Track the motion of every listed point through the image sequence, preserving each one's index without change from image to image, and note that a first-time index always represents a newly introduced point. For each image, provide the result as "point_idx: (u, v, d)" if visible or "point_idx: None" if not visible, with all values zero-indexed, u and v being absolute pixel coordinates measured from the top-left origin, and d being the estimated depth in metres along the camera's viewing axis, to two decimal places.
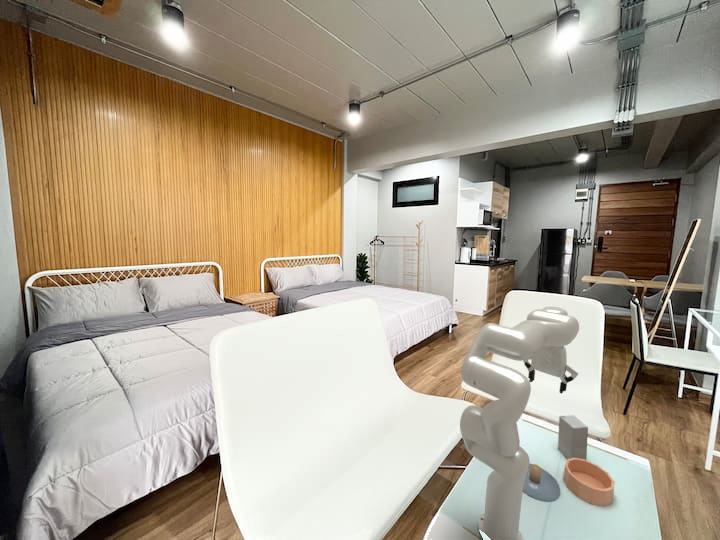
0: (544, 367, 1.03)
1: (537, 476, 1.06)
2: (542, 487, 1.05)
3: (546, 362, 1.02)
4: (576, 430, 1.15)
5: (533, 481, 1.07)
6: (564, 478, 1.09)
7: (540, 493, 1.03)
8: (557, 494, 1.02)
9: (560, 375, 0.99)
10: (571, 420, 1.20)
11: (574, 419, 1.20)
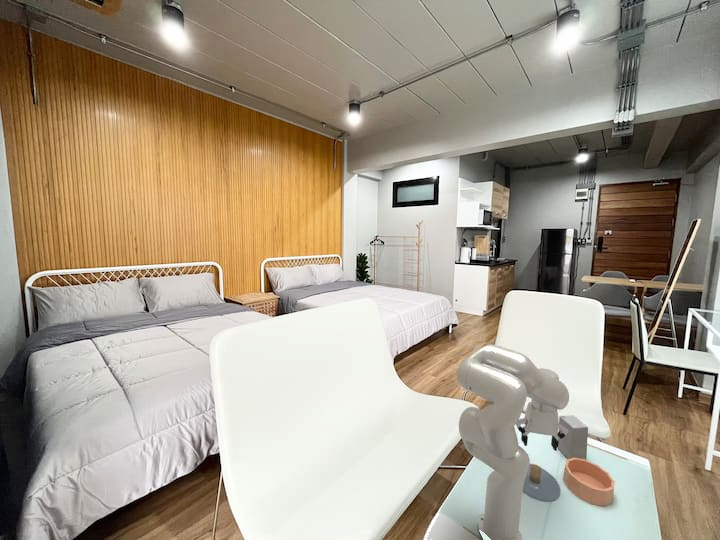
0: None
1: (537, 476, 1.06)
2: (542, 487, 1.05)
3: None
4: (576, 430, 1.15)
5: (533, 481, 1.07)
6: (564, 478, 1.09)
7: (540, 493, 1.03)
8: (557, 494, 1.02)
9: None
10: (571, 420, 1.20)
11: (574, 419, 1.20)
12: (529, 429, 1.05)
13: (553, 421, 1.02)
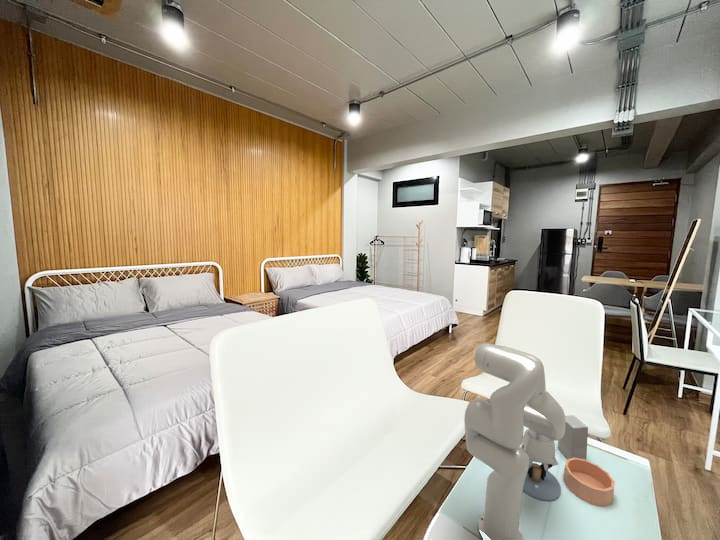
0: None
1: (537, 475, 1.06)
2: (543, 486, 1.05)
3: None
4: (576, 430, 1.15)
5: (534, 480, 1.07)
6: (564, 478, 1.09)
7: (541, 492, 1.03)
8: (558, 493, 1.03)
9: None
10: (571, 420, 1.20)
11: (574, 419, 1.20)
12: None
13: (550, 450, 1.03)
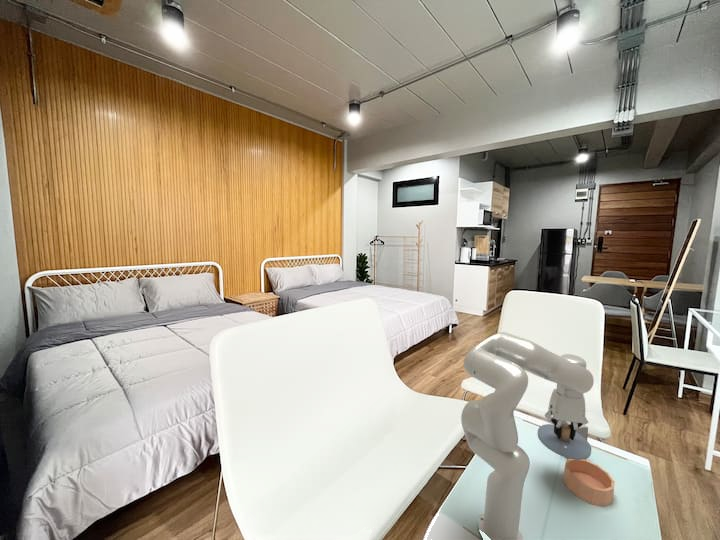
0: None
1: (566, 434, 1.03)
2: (572, 445, 1.02)
3: None
4: (576, 430, 1.15)
5: (562, 440, 1.04)
6: (564, 478, 1.09)
7: (571, 451, 0.99)
8: (589, 451, 0.99)
9: None
10: None
11: None
12: (555, 416, 1.02)
13: (580, 407, 1.00)
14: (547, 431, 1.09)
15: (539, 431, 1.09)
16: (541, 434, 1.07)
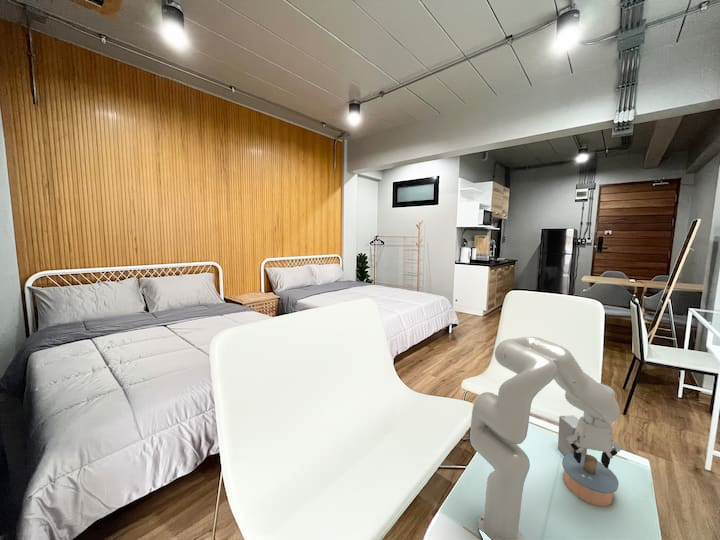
0: None
1: (593, 466, 1.03)
2: (599, 478, 1.02)
3: None
4: None
5: (588, 472, 1.04)
6: (564, 478, 1.09)
7: (598, 484, 0.99)
8: (616, 485, 0.99)
9: None
10: (571, 420, 1.20)
11: (574, 419, 1.20)
12: (582, 445, 1.03)
13: (608, 437, 1.00)
14: (572, 461, 1.09)
15: (564, 461, 1.09)
16: (566, 464, 1.08)
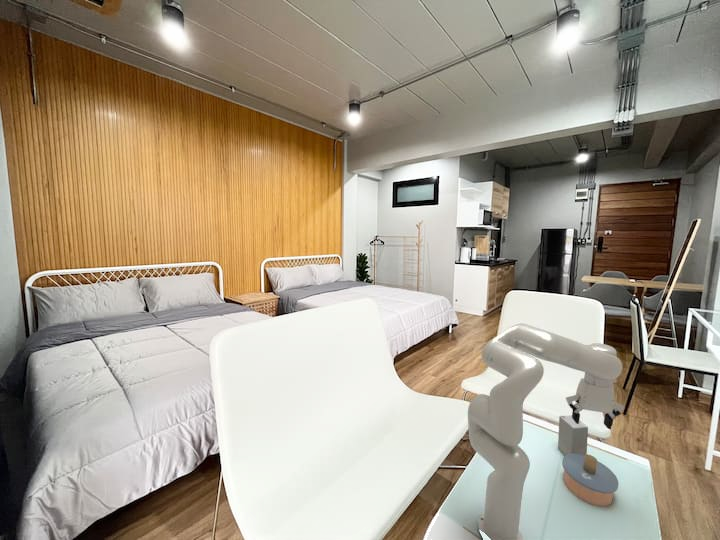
0: None
1: (593, 466, 1.03)
2: (599, 478, 1.02)
3: None
4: (576, 430, 1.15)
5: (588, 472, 1.04)
6: (564, 478, 1.09)
7: (598, 484, 0.99)
8: (616, 485, 0.99)
9: None
10: (571, 420, 1.20)
11: None
12: (582, 406, 1.01)
13: (609, 397, 0.99)
14: (572, 461, 1.09)
15: (564, 461, 1.09)
16: (566, 464, 1.08)
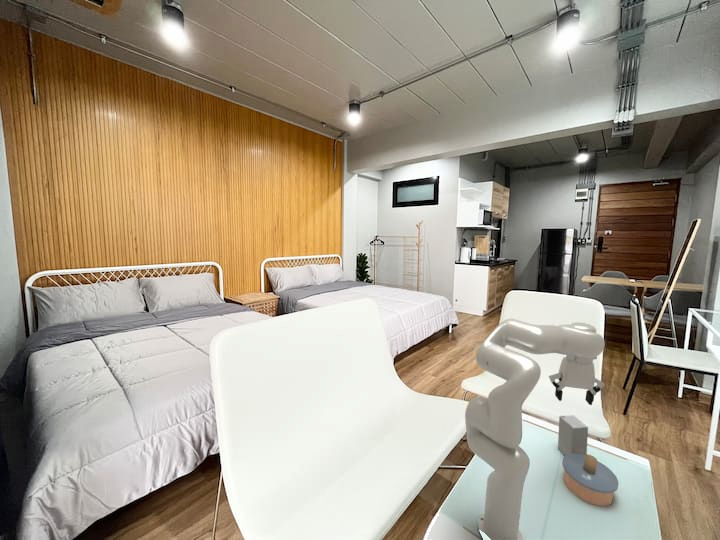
0: None
1: (593, 466, 1.03)
2: (599, 478, 1.02)
3: None
4: (576, 430, 1.15)
5: (588, 472, 1.04)
6: (564, 478, 1.09)
7: (598, 484, 0.99)
8: (616, 485, 0.99)
9: None
10: (571, 420, 1.20)
11: (574, 419, 1.20)
12: (564, 383, 1.05)
13: (589, 374, 1.02)
14: (572, 461, 1.09)
15: (564, 461, 1.09)
16: (566, 464, 1.08)
